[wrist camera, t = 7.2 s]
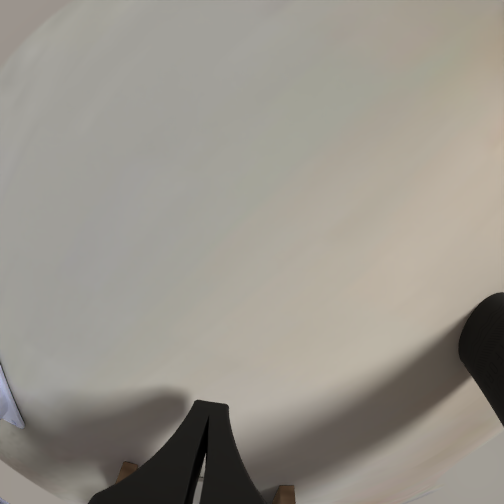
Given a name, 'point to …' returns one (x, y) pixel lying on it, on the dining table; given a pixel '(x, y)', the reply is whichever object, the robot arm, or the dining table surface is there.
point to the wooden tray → (282, 500)
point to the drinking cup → (486, 350)
